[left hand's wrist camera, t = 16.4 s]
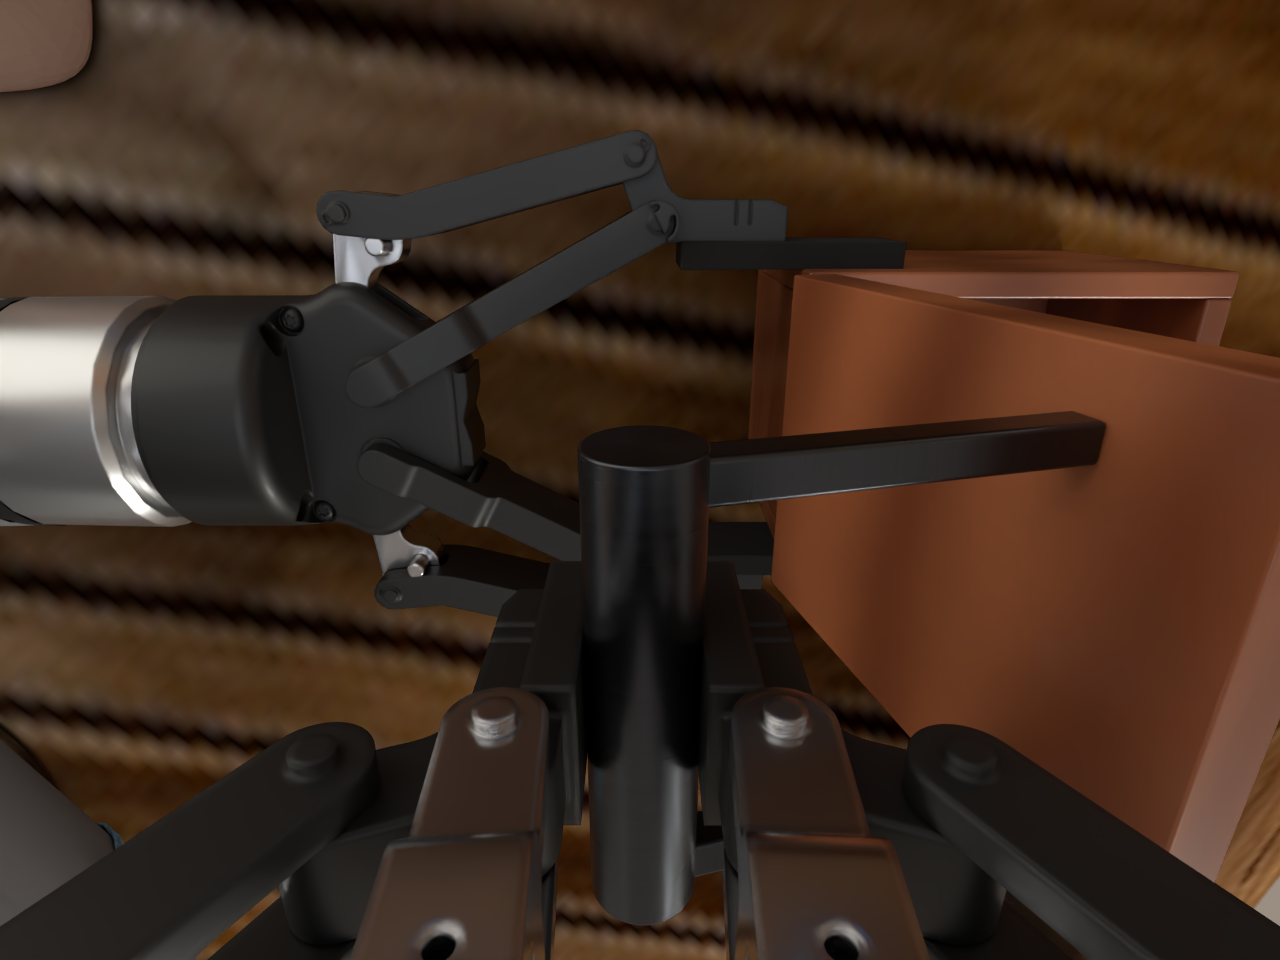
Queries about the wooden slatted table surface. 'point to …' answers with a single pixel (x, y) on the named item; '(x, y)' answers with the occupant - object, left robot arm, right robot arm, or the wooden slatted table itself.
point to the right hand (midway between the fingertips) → (870, 410)
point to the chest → (1005, 304)
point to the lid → (957, 565)
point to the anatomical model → (43, 42)
